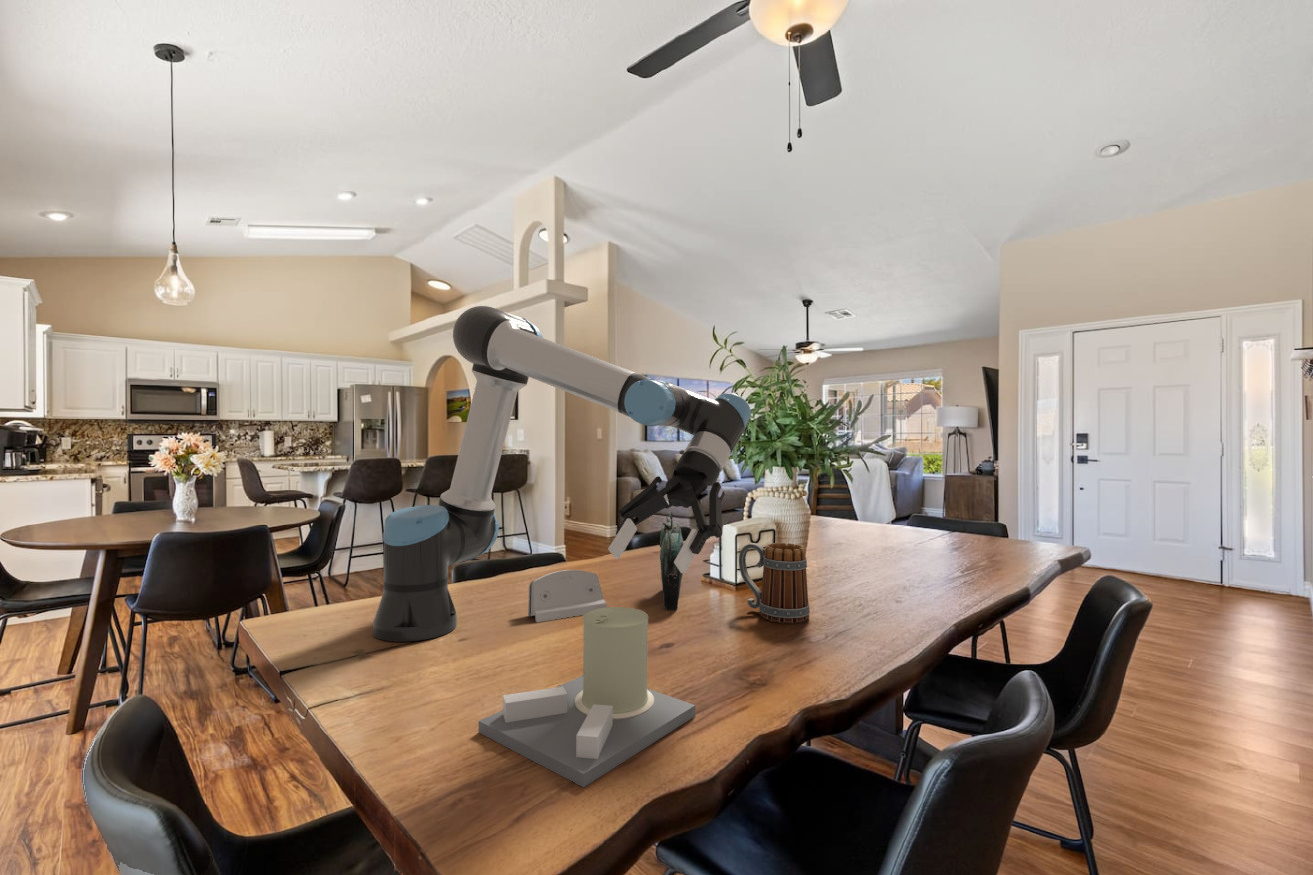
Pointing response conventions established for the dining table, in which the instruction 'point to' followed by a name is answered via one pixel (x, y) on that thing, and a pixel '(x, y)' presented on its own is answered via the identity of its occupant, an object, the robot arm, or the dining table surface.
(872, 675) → the dining table surface
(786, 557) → the mug
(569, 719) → the coupling stand
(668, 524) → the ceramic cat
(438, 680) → the dining table surface
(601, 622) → the can
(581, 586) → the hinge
